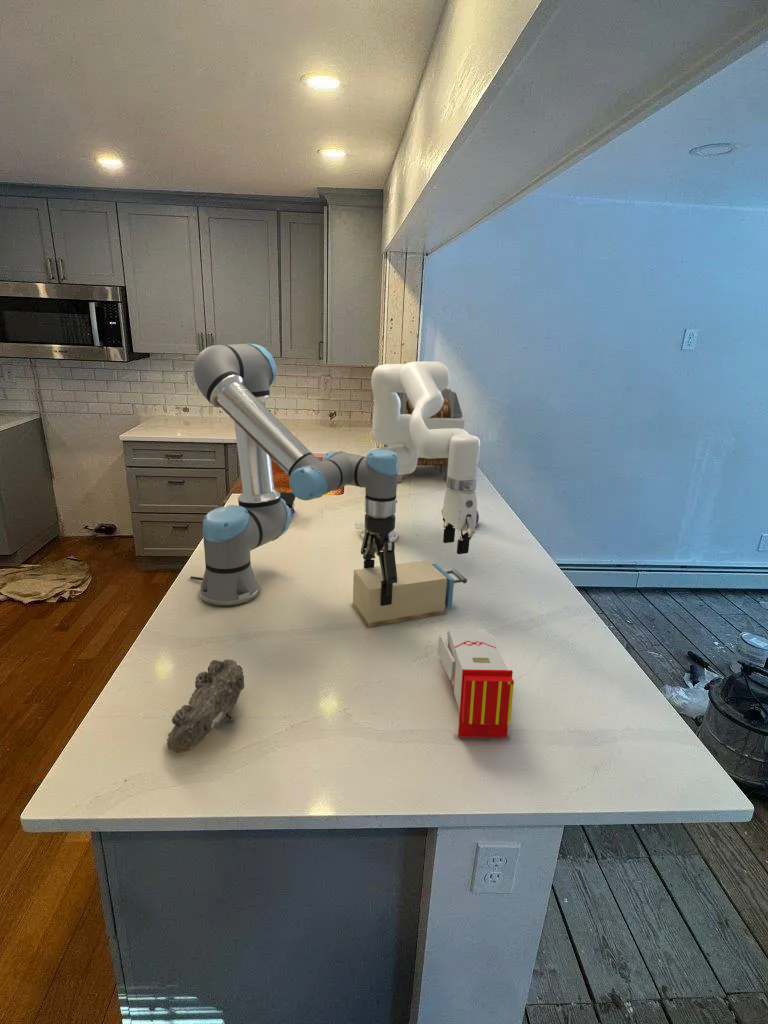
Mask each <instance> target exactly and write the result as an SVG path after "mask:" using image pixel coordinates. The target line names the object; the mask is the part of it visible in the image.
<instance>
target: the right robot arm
mask: <svg viewBox="0 0 768 1024" xmlns="http://www.w3.org/2000/svg"><path fill="white" fill-rule="evenodd" d="M370 377H371V378H370V385H371V390H372V391H371V392H372V395H373V411H372V425H371V426H372V428H371V436H372V439H373V442H375V443H376V444H378V445H384V444H402V445H401V446H395V447H384V446H380V447H374V448H372V449H370V450H369V451H371V450H376V449H381V450H390V451H393V452H395V453H396V454H397V456H398V475H402V474H403V475H410V474H412V473H414V472H415V471H416V469H417V467H418V466H417V461H418V452H419V454H420V455H421V456H422V457H424V458H427V459H434V458H446V457H447V458H449V459H448V471H447V481H446V484H445V494H444V500H443V508H442V509H441V515H442V521H443V525H442V527H443V533H442V534H443V536H442V543H444V544H451V543H455V537H456V529H457V531H458V538H459V539H457V544H456V545H457V546H456V555H464V554H468V553H469V551H470V541H471V540H472V538H473V536H474V535H475V534H476V532H477V531H476V527H477V526H476V515H477V511H478V500H477V499H478V498H477V491H476V489H477V481H478V480H477V479H478V471H479V470H478V469H479V462H480V461H479V460H480V451H481V440H480V438H479V437H478V436H476V435H473V434H470V433H469V432H468V431H466V430H465V429H464V430H463V429H460V428H450V429H447V428H446V429H428V428H427V427H426V425H425V423H424V420H426V419H428V418H429V417H431V416H433V415H435V414H436V413H437V412H438V411H439V410H440V409H441V407H442V405H443V397H442V395H441V392H442V391H443V390H444V389H446V387H447V388H448V386H449V384H450V379H451V378H450V372H449V369H448V367H447V366H446V364H444V363H443V362H441V361H435V360H433V361H430V360H429V361H428V360H423V361H419V360H415V361H410V362H407V363H385V364H380V365H377V366H376V367H375V368H374V369H373V371H372V373H371V376H370ZM398 392H399V393H406V394H407V396H408V398H409V400H410V402H411V404H412V406H413V408H414V410H413V412H412V414H400V407H401V402H400V398H399V396H398V395H397V393H398ZM365 457H367V453H366V455H365ZM403 475H402V476H403ZM463 526H466V528H462V527H463ZM475 526H476V527H475ZM354 527H355V529H356V530H361V534H360V535H361V538H362V539H363V538H364V534H365V521H364V522H362V521H355V522H354ZM463 531H465V532H463ZM398 537H399V534H398V532H397V531H396V530H395V529H394V530H393V531H391V532H390V533H389V539H390V542H395V541H397V540H398Z"/></svg>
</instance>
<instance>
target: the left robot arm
mask: <svg viewBox="0 0 768 1024" xmlns="http://www.w3.org/2000/svg"><path fill="white" fill-rule="evenodd" d="M277 373H278V372H277V365H276V361H275V359H274V357H273V355H272V354H271V352H270V351H268V350H267V348H265V347H264V346H262V345H260V344H257V343H246V342H244V343H235V344H214V345H210V346H207V347H206V348H204V349H203V350H202V351H200V353H199V354H198V355H197V357H196V359H195V361H194V365H193V378H194V382H195V384H196V386H197V388H198V390H199V392H200V393H201V394H202V396H203V397H204V398H205V399H206V400H207V401H208V402H209V404H211V405H212V406H213V407H214V408H221V410H222V411H224V412H225V413H226V414H227V415H228V416H229V418H230V419H232V420H233V423H234V432H235V439H236V448H237V456H238V464H239V472H240V479H241V480H240V481H241V488H242V492H241V493H240V495H238V497H237V502H238V505H236V504H235V505H233V504H231V505H226V506H219V507H216V508H214V509H212V510H210V511H209V512H207V513H206V515H204V518H203V519H202V530H201V532H202V538H203V539H202V540H203V549H204V563H205V565H204V566H205V570H204V573H203V577H199V576H190V579H191V580H196V581H201V583H200V589H199V593H200V595H199V596H200V599H201V600H202V601H203V602H204V603H206V604H208V605H211V606H215V607H234V606H239V605H243V604H246V603H248V602H251V601H252V600H254V599H255V598H256V597H257V596H258V594H259V582H258V580H257V577H256V575H255V572H254V570H253V568H252V563H251V551H253V550H255V549H257V548H259V547H261V546H263V545H266V544H268V543H270V542H273V541H275V540H277V539H279V538H280V537H282V536H283V535H285V534H286V533H287V531H288V530H289V528H290V527H291V526H290V525H291V523H292V517H291V512H290V509H289V507H288V506H287V505H286V502H285V501H284V500H283V499H281V496H280V493H281V492H279V491H277V490H276V488H275V482H274V473H273V464H272V461H273V462H274V463H275V464H276V465H277V466H278V467H279V468H280V469H282V470H283V472H284V473H285V474H286V475H287V476H288V477H289V478H288V485H289V488H290V490H291V493H293V494H294V495H295V496H296V497H295V498H297V499H299V500H302V501H312V500H315V499H318V498H321V497H323V496H325V495H326V494H329V493H331V492H333V491H336V490H339V489H341V488H344V487H345V486H352V487H359V488H364V490H365V496H364V512H365V514H364V522H365V534H364V538H362V544H361V548H360V554H361V555H362V558H363V569H364V568H372V567H375V559H376V558H377V557H378V560H379V566H381V571H382V577H383V581H380V582H381V602H380V605H381V606H384V605H390V604H392V587H393V583H397V571H396V564H397V562H396V554H395V553H396V552H395V549H396V548H395V547H396V544H395V541H393V542H390V539H389V533H390V532H391V531H393V530H394V531H395V529H396V515H395V514H396V511H397V509H396V508H397V504H398V499H397V490H398V489H397V488H398V482H397V477H398V456H397V454H396V453H395V452H393V451H390V450H381V449H376V450H371V449H370V450H371V451H370V450H369V451H368V452H367V453H366V454H367V457H366V455H365V456H364V455H360V454H354V453H349V452H346V451H342V450H341V451H337V450H336V451H335V450H331V451H328V452H327V453H326V454H325V455H324V456H323V457H322V459H321V460H320V459H319V458H318V457H317V456H316V455H314V453H312V452H311V450H309V449H308V448H307V447H306V445H304V444H303V442H301V441H300V440H299V439H298V437H296V436H295V435H294V434H293V433H292V432H291V430H289V429H288V428H287V426H286V425H284V424H283V422H281V421H280V420H279V419H278V418H277V417H276V416H275V415H274V414H273V413H272V412H271V411H270V410H269V409H268V408H267V407H266V402H267V400H268V399H269V398H270V397H271V393H270V387H271V386H273V384H274V383H275V380H276V378H277ZM376 556H377V557H376Z"/></svg>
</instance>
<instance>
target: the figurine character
mask: <svg viewBox="0 0 768 1024" xmlns="http://www.w3.org/2000/svg"><path fill="white" fill-rule="evenodd" d="M279 493H280V496H281V499H283V500H284V501H285V502H286V505H287V506H288V507H289V509H290V512H291V518H292V517H293V515H294V514H295V513H296V510H295V500H296V498H297V497H296V496H295V495H294V494H293V493H292V492H279Z"/></svg>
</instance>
